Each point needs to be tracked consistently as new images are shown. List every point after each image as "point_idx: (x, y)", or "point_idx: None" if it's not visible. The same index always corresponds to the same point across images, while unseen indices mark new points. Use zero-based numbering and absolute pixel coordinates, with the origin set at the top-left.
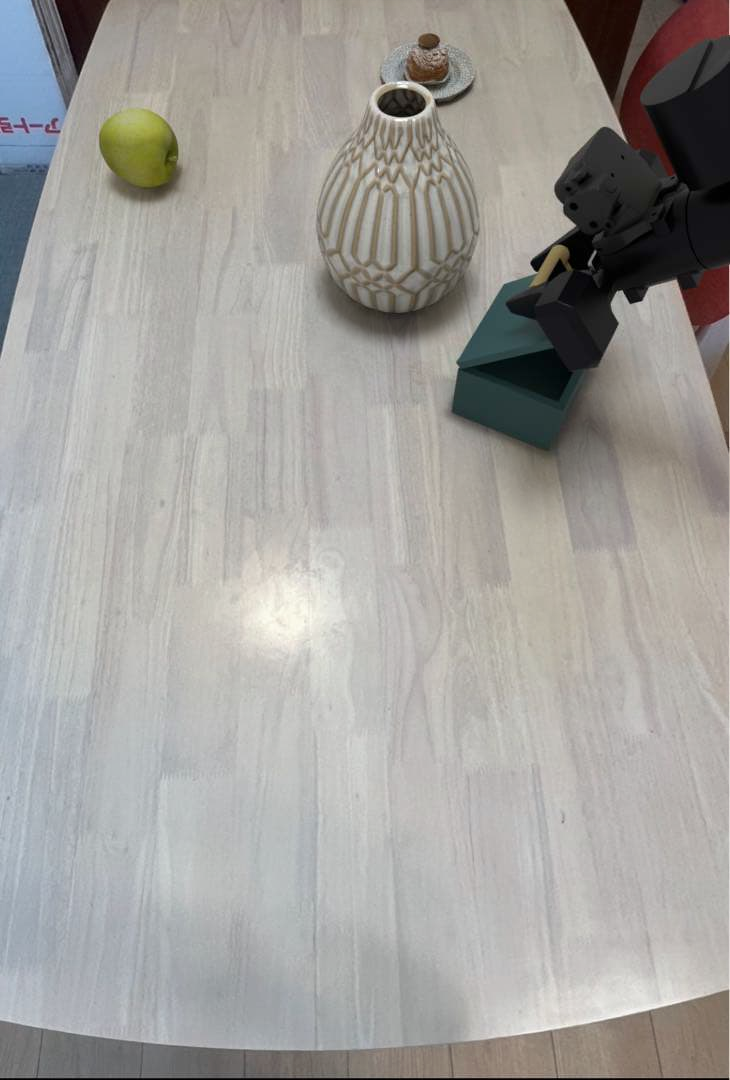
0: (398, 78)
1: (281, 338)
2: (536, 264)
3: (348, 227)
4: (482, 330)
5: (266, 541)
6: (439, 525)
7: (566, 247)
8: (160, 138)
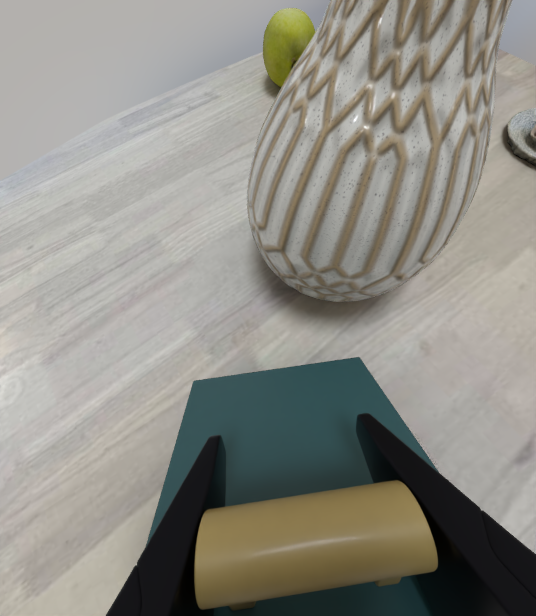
0: (524, 129)
1: (212, 221)
2: (362, 433)
3: (255, 147)
4: (255, 383)
5: (16, 330)
6: (81, 464)
7: (442, 550)
8: (293, 38)
